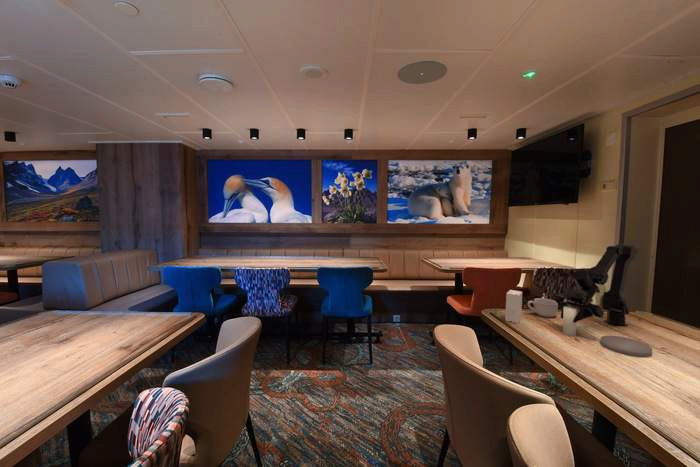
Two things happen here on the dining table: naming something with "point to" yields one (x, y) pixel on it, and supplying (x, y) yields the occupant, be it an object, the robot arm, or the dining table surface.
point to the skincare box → (513, 306)
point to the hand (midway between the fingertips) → (567, 319)
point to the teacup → (544, 307)
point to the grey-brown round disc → (626, 346)
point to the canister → (569, 320)
